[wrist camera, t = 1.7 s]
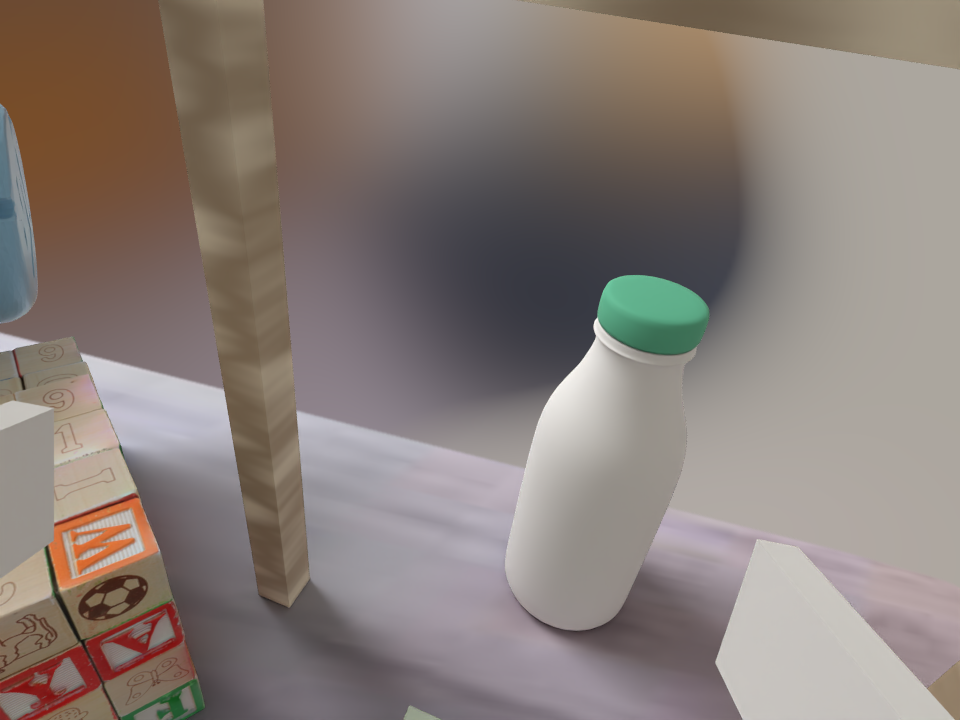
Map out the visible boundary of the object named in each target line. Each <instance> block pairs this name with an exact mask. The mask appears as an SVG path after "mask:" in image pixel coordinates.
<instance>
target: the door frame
mask: <svg viewBox="0 0 960 720" xmlns="http://www.w3.org/2000/svg"><path fill="white" fill-rule="evenodd" d="M158 1H159V7H160V13H161V19H162V24H163V31H164V37H165V42H166V48H167V55H168V60H169V66H170V72H171V78H172V84H173V90H174V96H175V102H176V108H177V113H178V120H179V125H180V131H181V137H182V143H183V149H184V155H185V161H186V167H187V172H188V179H189V184H190V190H191V196H192V202H193V208H194V214H195V220H196V225H197V231H198V238H199V244H200V250H201V255H202V261H203V267H204V273H205V279H206V285H207V291H208V297H209V303H210V308H211V314H212V320H213V326H214V332H215V338H216V344H217V350H218V356H219V362H220V367H221V374H222V379H223V385H224V391H225V397H226V403H227V409H228V415H229V421H230V427H231V433H232V439H233V444H234V450H235V456H236V462H237V468H238V474H239V480H240V486H241V492H242V498H243V504H244V509H245V515H246V521H247V527H248V533H249V539H250V545H251V551H252V557H253V563H254V569H255V574H256V580H257V586H258V592H259V595H260V596H263V597H265V598H267V599H270V600H272V601H274V602H277V603H279V604H281V605H284V606H286V607H288V608H290V607H291V605H292V604H293V602H294V601H295V600H296V598H297V597H298V595H299V594H300V592H301V591H302V590H303V588H304V587H305V585H306V584H307V582H308V581H309V580H310V575H309V562H308V550H307V538H306V525H305V513H304V500H303V488H302V476H301V463H300V451H299V439H298V426H297V414H296V402H295V389H294V377H293V365H292V353H291V340H290V328H289V316H288V304H287V291H286V278H285V266H284V254H283V242H282V228H281V216H280V205H279V191H278V179H277V167H276V155H275V142H274V130H273V117H272V106H271V93H270V80H269V69H268V55H267V43H266V31H265V19H264V6H263V0H158ZM518 1H524V2H531V3H537V4H544V5H550V6H556V7H563V8H569V9H576V10H582V11H589V12H595V13H601V14H608V15H614V16H621V17H627V18H633V19H640V20H647V21H653V22H659V23H666V24H672V25H678V26H685V27H691V28H698V29H705V30H710V31H717V32H723V33H730V34H736V35H742V36H749V37H755V38H762V39H768V40H775V41H781V42H787V43H794V44H800V45H807V46H813V47H820V48H826V49H833V50H839V51H845V52H852V53H858V54H865V55H871V56H878V57H884V58H890V59H896V60H903V61H909V62H916V63H922V64H928V65H936V66H941V67H948V68H955V69H960V0H518ZM927 690H928V691H929V692H930V693H931V694H932V695H933V696H934V697H935V698H936V699H937V701H938V702H939V703H940V704H941V705H942V706H943V707H944V708H945V709H946V710H947V712H948V713H949V714H950V715H951V716H952V717H953V718H954V719H955V720H960V660H959V661H958V662H957V663H956V664H955V665H954V666H952V667H951V668H950V669H949V670H948V671H947V672H946V673H944V674H943V675H942V676H941V677H940V678H939V679H938V680H936V681H935V682H934V683H933V684H932V685H931V686H930V687H928V688H927Z"/></svg>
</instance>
